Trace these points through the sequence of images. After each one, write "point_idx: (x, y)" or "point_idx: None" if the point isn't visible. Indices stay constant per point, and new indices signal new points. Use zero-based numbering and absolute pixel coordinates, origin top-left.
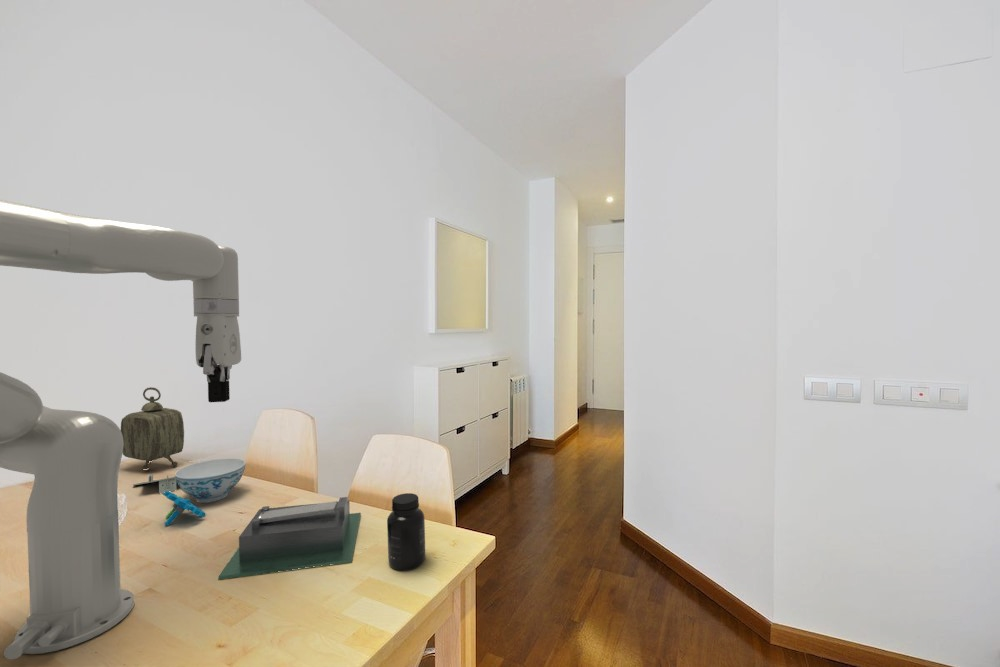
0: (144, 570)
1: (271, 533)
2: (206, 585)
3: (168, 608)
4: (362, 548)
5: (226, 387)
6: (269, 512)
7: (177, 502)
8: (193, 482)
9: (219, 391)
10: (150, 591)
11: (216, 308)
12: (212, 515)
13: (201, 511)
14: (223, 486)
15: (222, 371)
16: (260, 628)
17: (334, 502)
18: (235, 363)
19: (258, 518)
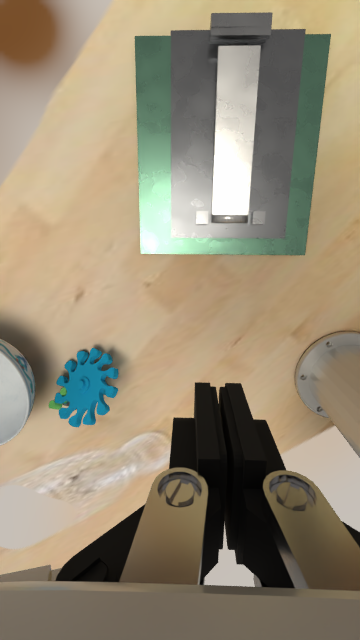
0: (242, 360)
1: (290, 182)
2: (311, 265)
3: (349, 292)
4: (283, 19)
5: (250, 428)
6: (221, 203)
7: (116, 391)
8: (32, 400)
9: (272, 444)
10: (300, 330)
11: None
12: (83, 339)
13: (92, 355)
14: (17, 350)
15: (355, 569)
16: None
17: (225, 51)
18: (181, 590)
19: (252, 215)
